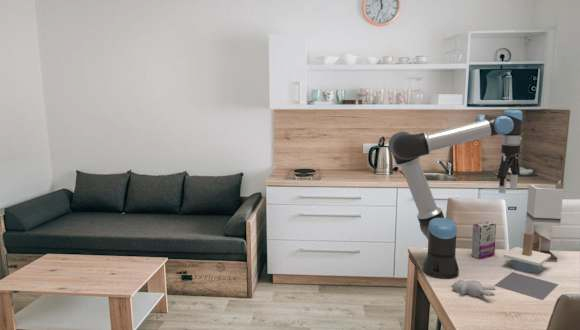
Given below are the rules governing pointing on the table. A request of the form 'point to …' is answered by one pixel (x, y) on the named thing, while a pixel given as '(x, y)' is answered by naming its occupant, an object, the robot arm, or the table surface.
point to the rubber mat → (527, 285)
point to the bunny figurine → (472, 288)
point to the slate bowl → (525, 266)
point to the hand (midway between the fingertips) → (507, 190)
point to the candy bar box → (483, 240)
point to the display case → (543, 216)
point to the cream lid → (527, 252)
